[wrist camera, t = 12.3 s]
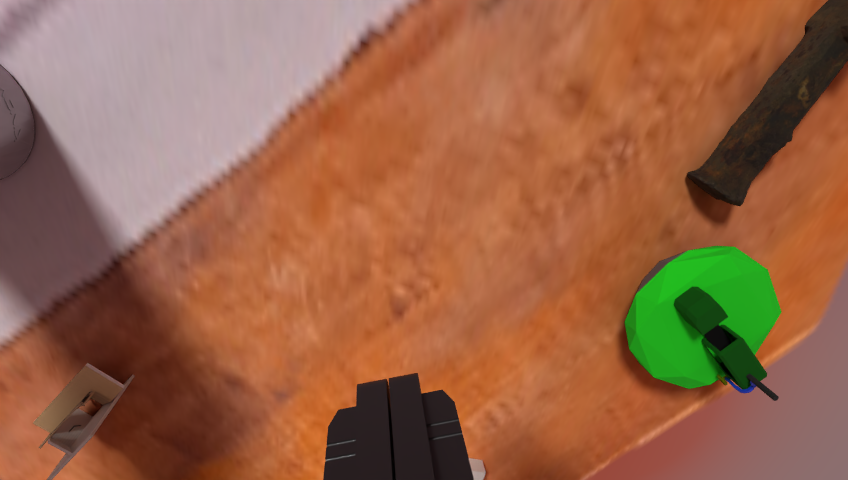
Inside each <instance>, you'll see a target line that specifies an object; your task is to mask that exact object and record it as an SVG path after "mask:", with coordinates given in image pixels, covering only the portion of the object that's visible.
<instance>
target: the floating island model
mask: <svg viewBox="0 0 848 480" xmlns="http://www.w3.org/2000/svg"><path fill="white" fill-rule="evenodd" d="M780 314H781V309H780V306H779V303H778V300H777V297H776V294H775V291H774V288H773V285H772V281H771V278H770V275H769V272H768V270H767V269H766V268H764V267H763V266H762V265H760V264H759V263H757V262H756V261H754V260H753V259H751V258H750V257H749V256H747V255H746V254H744V253H743V252H741V251H740V250H739V249H737V248H736V247H730V246H712V247H706V248H700V249H694V250H688V251H685V252H683V253H680V254H678V255H675V256H672V257H670V258H667V259H664V260H662V261H659V263H658V264H657V265H656V266H655V267H654V268H653V269H652V270H651V271H650V272H649V273H648V274H647V275H646V276H645V277H644V279H643V280H642V282H641V284H640V287H639V289H638V291H637V293H636V295H635V298H634V300H633V303H632V305H631V308H630V310H629V312H628V315H627V317H626V320H625V328H626V333H627V339H628V345H629V349H630V351H631V352H632V353H633V355H634V356H635V358H636V359H637V360H638V362H639V363H640V364H641V365H642V366H643V367H644V368H645V369H646V370H647V371H648V372H649V373H650V374H651V375H652V376H653V377H654V378H657V379H660V380H663V381H666V382H669V383H672V384H675V385H678V386H682V387H685V388H688V389H691V388H696V387H701V386H706V385H710V384H712V383H714V382H715V381H717V380H720V381H721V382H722V383H723V384H724V385H727V382H726V381H728V382H729V383H730V384H731V385H732V386H733V387H734V388H735V389H736V390H738V391H739V392H741V393H749V392H751V391H752V390H753V389H754V388H755V387H756V386H757V387H758V388H760V389H761V390H762V391H763V392H764V393H766V394H767V395H768V396H769V397H770V398H772V399H773V400H774V401H776V400H777V399H778V396H777V395H776V394H775V393H773V392H772V391H771V390H770V389H768V388H767V387H766V386H765V385H763V384H762V383H761V382H760V381H761V380H762V379H764V378H765V377H766V376H767V373H766V371H765V370H764V368H763V367H762V365H761V364H760V362H759V361H758V360H757V358H756V357H755V354H756V352H757V351H758V349H759V348H760V346H761V344H762V343H763V341H764V340H765V338H766V337H767V335H768V333H769V332H770V330H771V329H772V327H773V326H774V324H775V322H776V321H777V319H778V317H779V315H780ZM722 377H723V378H722ZM730 379H731V380H732V381H733V382H735V383H736V384H737V385H738V386H739V387H740V388H741V389H740V388H739V387H737V386H736V385H735V384H734V383H733V382H732V381H731V380H730ZM725 380H726V381H725Z"/></svg>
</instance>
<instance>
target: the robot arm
mask: <svg viewBox="0 0 848 480" xmlns="http://www.w3.org/2000/svg"><path fill="white" fill-rule="evenodd" d="M34 135H35V129H34V118H33V115H32V111H31V108H30V105H29V102H28V100H27V98H26V97H25V95H24V93H23V91H22V89H21V88H20V86H19V85H18V84H17V82H16V81H15V80H14V79H13V77H12V76H11V75H10V74H9V73H8V72H7V71H6V70H5V69H4V68H3V67H2V66H1V65H0V179H2V178H4V177H7V176H9V175H10V174H12V173H13V172H15V171H16V170H17V169H19V168H20V167H21V165H22V164H23V163H24V162H25V161H26V159H27V158H28V156H29V153H30V151H31V149H32V147H33V141H34ZM325 459H326V462H325V468H324V479H323V480H474V478H473V474H472V470H471V466H470V462H469V458H468V454H467V450H466V446H465V442H464V438H463V435H462V430H461V426H460V422H459V418H458V414H457V410H456V406H455V402H454V401H453V400H452V399H451V398H450V397H449V396H448V395H447V394H446V393H445V392H444V391H443V390H439V391H433V392H428V393H423V394H421V389H420V383H419V378H418V373H414V374H409V375H404V376H398V377H393V378H389V385H388V381H387V379H383V380H378V381H373V382H368V383H362V384H357V403H356V407H351V408H345V409H340V410H338V411H337V413H336V415H335V416H334V418H333V420H332V421H331V423H330V425H329V426H328V436H327V448H326V457H325Z"/></svg>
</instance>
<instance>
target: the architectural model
mask: <svg viewBox="0 0 848 480" xmlns="http://www.w3.org/2000/svg"><path fill="white" fill-rule="evenodd" d="M134 377H135V376H134V375H132V376H131V377H130V378H129V379H128V380H127V381H126V382H125V383H124V384H121V383H120V382H118V381H117V380H115V379H113V378H112V377H110V376H108V375H107V374H105V373H103V372H102V371H100V370H99V369H97V368H95V367H94V366H92V365H90V364H89V363H87V364H86V365H85V366H84V367H83V368H82V370H81V371H80V372H79V373H78V374H77V375H76V376H75V377H74V378H73V379H72V381H71V382H70V383H69V384H68V385H67V386H66V387H65V388H64V389H63V390H62V392H61V393H60V394H59V395H58V396H57V397H56V398H55V399H54V400H53V401H52V403H51V404H50V405H49V406H48V407H47V408H46V409H45V410H44V411H43V412H42V414H41V415H40V416H39V417H38V418H37V419H36V420H35V421H34V422H33V424H35V425H37V426H39V427H40V428H42V429H44V430H46V431H48V432H50V434H49V435H48V437H47V438H46V439H45V440H44V442H43V443H42V444H41V445H40V447H39V448H41V447H42V446H43V445H44V444H45V443H46V441H47V440H48V443H49V444H50V445H52V446H54V447H56V448H58V449H60V450H61V451H63V452H65V453H66V454H65V455H64V457H63V458H62V459H61V461H60V462H59V464H58V465H57V466H56V468H55V469H54V470H53V472H52V473H51V474H50V476H49V477H48V479H47V480H52V479H53V478H54V477H55V476H56V475H57V474H58V472H59V471H60V470H61V469H62V468H63V467H64V466H65V465H66V464H67V463H68V462H69V461H70V460H71V459H72V458H73V457H74V456H75V455H76V454H77V452H78V451H79V450H80V449H81V448H82V447H83V446H84V445H85V444H86V443H87V442H88V441H89V440H90V439H91V438H92V437H93V435H94V434H95V432H96V431H97V430H98V428H99V427H100V425H101V424H102V422H103V421H104V420H105V418H106V417H107V415H108V414H109V412H110V411H111V410H112V408H113V407H114V405H115V404H116V402H117V401H118V399H119V398H120V397H121V395H122V394H123V392H124V391H125V389H126V388H127V387H128V385H129V384H130V382H131V381H132V379H133V378H134ZM90 398H92V399H93V400H95V401H97V402H99V403H100V404H102V405H103V406H102V408H101V409H100V410H99V411H98V412H97V413H96V414H95V415H94V416H91V415H89V414H87V413H86V412H84V411H82V410H80V409H79V407H80V406H85V405H86V403H87V402H88V401H89V399H90Z"/></svg>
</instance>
